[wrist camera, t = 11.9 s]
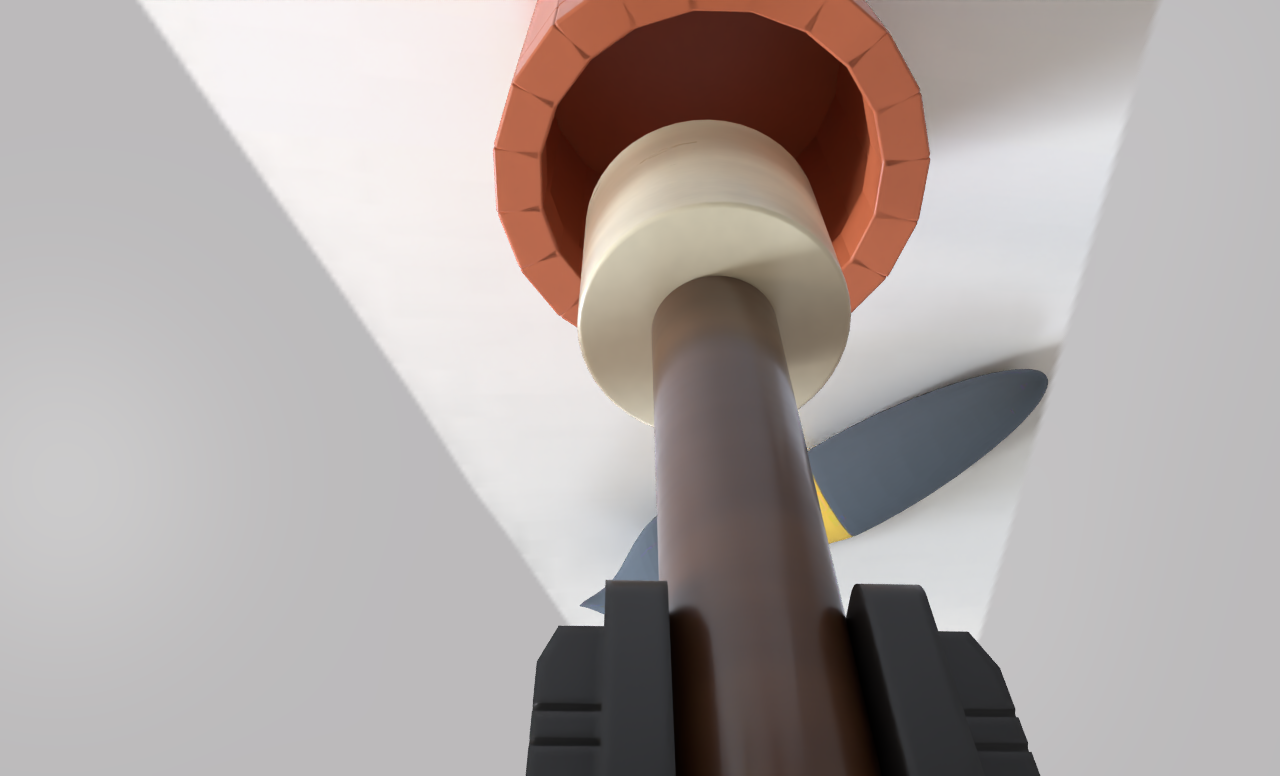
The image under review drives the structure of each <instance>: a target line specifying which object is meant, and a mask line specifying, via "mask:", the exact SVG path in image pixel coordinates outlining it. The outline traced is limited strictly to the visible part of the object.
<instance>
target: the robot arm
mask: <svg viewBox="0 0 1280 776" xmlns="http://www.w3.org/2000/svg"><path fill="white" fill-rule="evenodd" d="M846 621H847V626H848V630H849V634H850V639H851V643H852V647H853V652H854V656H855V660H856V665H857V669H858V673H859V678H860V682H861V686H862V691H863V695H864V699H865V704H866V708H867V712H868V717H869V721H870V725H871V730H872V734H873V738H874V743H875V747H876V751H877V756H878V760H879V764H880V769H881V773H882V776H1040V774H1039V771H1038V768H1037V766H1036V763H1035V760H1034V758H1033V755H1032V752H1029V751H1028V742H1027V739H1026V736H1025V734H1024V731H1023V728H1022V726H1021V723H1020V720H1019V718H1018V717H1016V716H1015V707H1014V704H1013V702H1012V699H1011V696H1010V694H1009V691H1008V688H1007V686H1006V683H1005V680H1004V678H1003V675H1002V672H1001V670H1000V668H999V667H998V665H997V664H996V663H995V662H994V661H993V660H992V658H991V657H990V656H989V655H988V654H987V653H986V652H985V651H984V649H983V648H982V647H981V646H980V645H979V644H978V642H977V641H976V640H975V639H974V638H973V637H972V636H971V634H970V633H969V632H949V631H938V629H937V626H936V623H935V620H934V617H933V614H932V611H931V608H930V605H929V602H928V599H927V596H926V593H925V591H924V590H923V588H922V587H921V586H920V585H894V584H855V585H854V587H853V589H852V592H851V596H850V601H849V606H848V611H847V616H846ZM526 776H676V773H675V748H674V723H673V698H672V673H671V649H670V624H669V599H668V583H667V581H646V580H606V585H605V618H604V626H558V628H557V630H556V631H555V633H554V635H553V636H552V638H551V640H550V641H549V643H548V644H547V646H546V648H545V649H544V651H543V652H542V654H541V656H540V657H539V659H538V661H537V666H536V676H535V686H534V697H533V711H532V718H531V728H530V742H529V748H528V758H527V768H526Z"/></svg>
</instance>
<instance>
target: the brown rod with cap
mask: <svg viewBox="0 0 1280 776" xmlns="http://www.w3.org/2000/svg"><path fill="white" fill-rule="evenodd" d="M850 321H851V306H850V297H849V292H848V288H847V283H846V281H845V278H844V275H843V272H842V270H841V267H840V264H839V261H838V259H837V256H836V253H835V250H834V248H833V245H832V242H831V239H830V237H829V234H828V231H827V228H826V226H825V223H824V220H823V217H822V215H821V212H820V209H819V206H818V204H817V201H816V198H815V195H814V193H813V190H812V187H811V185H810V182H809V180H808V178H807V177H806V175H805V173H804V171H803V170H802V168H801V167H800V165H799V164H798V163H797V161H796V160H795V159H794V158H793V156H792V155H791V154H790V153H788V152H787V151H786V150H785V149H784V148H783V147H782V146H781V145H780V144H778V143H777V142H775V141H774V140H773V139H771V138H770V137H768V136H766V135H764V134H762V133H760V132H759V131H757V130H754V129H752V128H749V127H746V126H743V125H741V124H736V123H732V122H727V121H719V120H692V121H686V122H680V123H675V124H672V125H669V126H665V127H662V128H660V129H657V130H655V131H653V132H651V133H648V134H646V135H645V136H643V137H641V138H640V139H638V140H636V141H635V142H633V143H632V144H631V145H629V146H628V147H627V148H626V149H624V150H623V151H622V152H621V153H620V154H619V155H618V156H617V157H616V158H615V159H614V160H613V161H612V162H611V163H610V164H609V166H608V167H607V169H606V170H605V171H604V173H603V174H602V176H601V177H600V179H599V181H598V183H597V185H596V187H595V189H594V191H593V194H592V197H591V199H590V202H589V206H588V211H587V216H586V226H585V238H584V249H583V260H582V272H581V283H580V295H579V306H578V320H577V328H578V340H579V344H580V348H581V352H582V356H583V358H584V361H585V363H586V366H587V368H588V370H589V372H590V374H591V375H592V377H593V379H594V380H595V382H596V383H597V385H598V386H599V387H600V388H601V390H602V391H603V392H604V393H605V395H606V396H607V397H608V398H609V399H610V400H611V401H613V402H614V403H615V404H616V405H617V406H618V407H619V408H621V409H622V410H623V411H625V412H626V413H627V414H629V415H630V416H632V417H634V418H635V419H637V420H639V421H641V422H643V423H645V424H647V425H649V426H652V427H654V433H655V466H656V499H657V532H658V565H659V581H667V583H668V599H669V624H670V649H671V673H672V698H673V723H674V748H675V773H676V776H882V773H881V769H880V764H879V760H878V756H877V751H876V747H875V743H874V738H873V734H872V730H871V725H870V721H869V717H868V712H867V708H866V704H865V699H864V695H863V691H862V686H861V682H860V678H859V673H858V669H857V665H856V660H855V656H854V652H853V647H852V643H851V639H850V634H849V630H848V626H847V621H846V617H845V613H844V608H843V604H842V600H841V595H840V591H839V587H838V582H837V578H836V574H835V569H834V565H833V561H832V556H831V552H830V548H829V543H828V539H827V535H826V530H825V526H824V522H823V517H822V513H821V509H820V504H819V500H818V496H817V491H816V487H815V483H814V478H813V474H812V470H811V465H810V461H809V457H808V452H807V448H806V444H805V439H804V435H803V431H802V426H801V422H800V418H799V413H798V409H799V408H801V407H802V406H803V405H804V404H805V403H807V402H808V401H809V400H810V399H812V398H813V396H814V395H815V394H816V393H817V392H818V391H819V390H820V389H821V388H822V387H823V386H824V384H825V383H826V382H827V381H828V379H829V378H830V377H831V375H832V374H833V372H834V370H835V368H836V366H837V365H838V363H839V361H840V359H841V357H842V354H843V352H844V349H845V347H846V343H847V339H848V335H849V331H850Z"/></svg>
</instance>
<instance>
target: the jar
mask: <svg viewBox="0 0 1280 776" xmlns="http://www.w3.org/2000/svg"><path fill="white" fill-rule="evenodd" d="M692 120H719V121H727V122H732V123H736V124H741V125H743V126H746V127H749V128H752V129H754V130H757V131H759V132H760V133H762V134H764V135H766V136H768V137H770V138H771V139H773V140H774V141H775V142H777V143H778V144H780V145H781V146H782V147H783V148H784V149H785V150H786V151H787V152H788V153H790V154H791V155H792V156H793V158H794V159H795V160H796V161H797V163H798V164H799V165H800V167H801V168H802V170H803V171H804V173H805V175H806V177H807V178H808V180H809V182H810V185H811V187H812V190H813V193H814V195H815V198H816V201H817V204H818V206H819V209H820V212H821V215H822V217H823V220H824V223H825V226H826V228H827V231H828V234H829V237H830V239H831V242H832V245H833V248H834V250H835V253H836V256H837V259H838V261H839V264H840V267H841V270H842V272H843V275H844V278H845V281H846V283H847V288H848V292H849V297H850V306H851V313H852V312H853V311H854V310H855V309H856V308H857V307H858V306H859V305H860V304H861V303H862V302H863V301H864V300H865V299H866V298H867V297H868V296H869V295H870V294H871V293H872V292H873V291H874V290H875V289H876V288H877V287H878V286H879V285H880V284H881V283H882V282H883V281H884V280H885V278H886V276H888V275H889V274H890V272H891V270H892V268H893V266H894V265H895V263H896V261H897V259H898V257H899V256H900V254H901V252H902V250H903V248H904V246H905V245H906V243H907V241H908V239H909V237H910V235H911V234H912V232H913V230H914V228H915V226H916V225H917V221H918V219H919V216H920V210H921V205H922V200H923V195H924V190H925V184H926V179H927V174H928V169H929V164H930V158H929V155H930V150H929V143H928V136H927V129H926V122H925V116H924V109H923V102H922V95H921V93H920V88H919V87H918V85H917V83H916V81H915V79H914V77H913V75H912V74H911V72H910V70H909V68H908V66H907V64H906V62H905V61H904V59H903V57H902V55H901V53H900V51H899V49H898V48H897V46H896V44H895V42H894V40H893V38H892V36H891V35H890V33H889V32H888V30H887V29H886V28H885V27H884V25H883V24H882V23H881V21H880V20H879V19H878V17H877V16H876V15H875V13H874V12H873V11H872V10H871V8H870V7H869V6H868V4H867V3H866V2H865V0H538V1H537V4H536V7H535V10H534V13H533V16H532V19H531V23H530V26H529V29H528V32H527V35H526V38H525V42H524V45H523V48H522V51H521V54H520V57H519V60H518V64H517V67H516V70H515V73H514V77H513V80H512V83H511V86H510V90H509V93H508V97H507V100H506V104H505V107H504V111H503V114H502V118H501V121H500V125H499V128H498V132H497V135H496V139H495V142H494V149H493V157H494V174H495V191H496V209H497V212H498V216H499V218H500V220H501V223H502V225H503V228H504V230H505V233H506V235H507V238H508V240H509V243H510V245H511V248H512V250H513V252H514V255H515V257H516V260H517V262H518V265H519V266H520V268H521V271H522V273H523V274H524V275H525V276H526V277H527V279H528V280H529V281H530V282H531V283H532V284H533V286H534V287H535V288H536V289H537V290H538V292H539V293H540V294H541V295H542V296H543V297H544V299H545V300H546V301H547V302H548V303H549V305H550V306H551V307H552V308H553V309H554V310H555V312H556V313H557V314H558V315H559V316H561V317H562V318H563V319H565V320H566V321H568V322H569V323H571V324H573V325H574V326H576V327H577V320H578V306H579V295H580V283H581V272H582V260H583V249H584V238H585V226H586V216H587V211H588V206H589V202H590V199H591V197H592V194H593V191H594V189H595V187H596V185H597V183H598V181H599V179H600V177H601V176H602V174H603V173H604V171H605V170H606V169H607V167H608V166H609V164H610V163H611V162H612V161H613V160H614V159H615V158H616V157H617V156H618V155H619V154H620V153H621V152H622V151H623V150H624V149H626V148H627V147H628V146H629V145H631V144H632V143H633V142H635V141H636V140H638V139H640V138H641V137H643V136H645V135H646V134H648V133H651V132H653V131H655V130H657V129H660V128H662V127H665V126H669V125H672V124H675V123H680V122H686V121H692Z"/></svg>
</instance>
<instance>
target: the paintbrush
mask: <svg viewBox="0 0 1280 776" xmlns="http://www.w3.org/2000/svg"><path fill="white" fill-rule="evenodd" d="M1047 385H1048V379H1047V376H1046V375H1045V374H1044V373H1043V372H1040V371H1037V370H1031V369H1015V370H1007V371H1001V372H995V373H991V374H986V375H982V376H978V377H975V378H971V379H968V380H964V381H961V382H958V383H955V384H952V385H949V386H946V387H943V388H940V389H937V390H935V391H932V392H929V393H927V394H924V395H921V396H919V397H916V398H913V399H911V400H908V401H906V402H904V403H901V404H899V405H897V406H894V407H892V408H890V409H888V410H885V411H883V412H881V413H878V414H876V415H874V416H872V417H870V418H868V419H866V420H864V421H862V422H860V423H858V424H856V425H854V426H852V427H850V428H848V429H846V430H844V431H842V432H841V433H839V434H837V435H835V436H833V437H831V438H829V439H828V440H826V441H824V442H823V443H821V444H819V445H817V446H816V447H814V448H812V449H811V450H809V451H808V457H809V461H810V465H811V470H812V474H813V478H814V483H815V487H816V491H817V496H818V500H819V504H820V509H821V513H822V517H823V522H824V526H825V530H826V535H827V539H828V543H833V542H837V541H840V540H844V539H847V538H850V537H853V536H856V535H858V534H860V533H862V532H864V531H866V530H868V529H870V528H872V527H874V526H876V525H878V524H880V523H882V522H884V521H886V520H887V519H889V518H891V517H893V516H895V515H897V514H898V513H900V512H902V511H904V510H905V509H907V508H909V507H910V506H912V505H913V504H915V503H917V502H918V501H920V500H922V499H923V498H925V497H927V496H928V495H930V494H931V493H933V492H934V491H936V490H937V489H939V488H940V487H942V486H943V485H945V484H946V483H948V482H949V481H951V480H952V479H954V478H955V477H957V476H958V475H959V474H961V473H962V472H963V471H965V470H966V469H967V468H969V467H970V466H971V465H973V464H974V463H975V462H977V461H978V460H979V459H981V458H982V457H983V456H984V455H986V454H987V453H988V452H989V451H991V450H992V449H993V448H994V447H996V446H997V445H998V444H999V443H1000V442H1001V441H1003V440H1004V439H1005V438H1006V437H1007V436H1008V435H1009V434H1010V433H1012V432H1013V431H1014V430H1015V429H1016V428H1017V427H1018V426H1019V425H1020V424H1021V423H1022V422H1023V421H1024V420H1025V419H1026V418H1027V417H1028V415H1029V414H1030V413H1031V412H1032V411H1033V410H1034V408H1035V407H1036V406H1037V405H1038V403H1039V402H1040V400H1041V399H1042V397H1043V395H1044V393H1045V391H1046V389H1047ZM613 580H646V581H659V565H658V532H657V516H656V517H655V518H654V519H653V520H652V521H651V522H650V523H649V524H648V525H647V526H646V527H645V529H644V530H643V531H642V532H641V534H640V535H639V537H638V538H637V540H636V542H635V543H634V545H633V546H632V548H631V550H630V552H629V554H628V556H627V557H626V559H625V561H624V563H623V565H622V566H621V568H620V570H619V572H618V573H617V575H616V576H615V577H614V579H613ZM580 606H582V607H586V608H590V609H593V610H595V611H598V612H600V613H602V614H605V588H604V589H602V590H601V591H600V592H598V593H597V594H595V595H594V596H592V597H591V598H589V599H587V600H586V601H584V602H583V603H582V604H581V605H580Z"/></svg>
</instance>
